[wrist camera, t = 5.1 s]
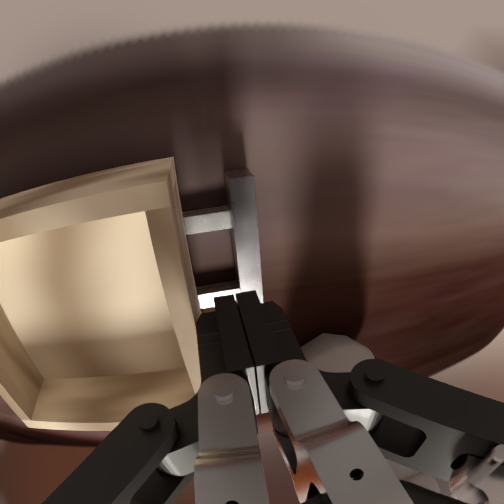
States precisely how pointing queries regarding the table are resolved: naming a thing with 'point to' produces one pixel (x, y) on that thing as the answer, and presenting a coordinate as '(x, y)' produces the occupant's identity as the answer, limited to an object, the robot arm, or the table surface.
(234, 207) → the rail
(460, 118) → the table surface
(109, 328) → the wooden tray
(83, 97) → the table surface
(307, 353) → the salt shaker
